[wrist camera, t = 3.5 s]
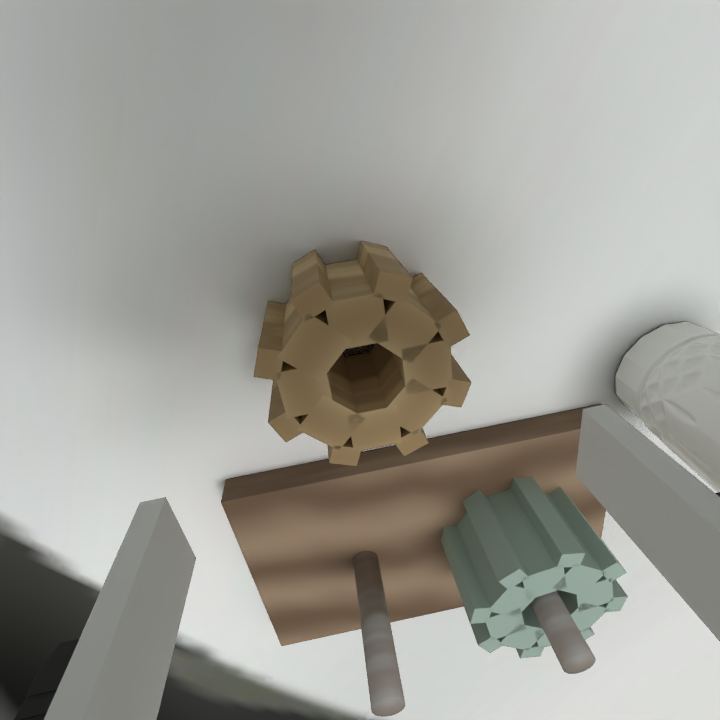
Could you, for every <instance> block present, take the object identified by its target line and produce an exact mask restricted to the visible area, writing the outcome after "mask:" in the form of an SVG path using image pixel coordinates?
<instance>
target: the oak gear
mask: <svg viewBox="0 0 720 720" xmlns="http://www.w3.org/2000/svg"><path fill="white" fill-rule="evenodd" d="M469 335H470V334H469V332H468V331H467V329H466V327H465V325H464V323H463V321H462V319H461V317H460V315H459V313H458V311H457V310H456V309H455V308H454V307H453V306H452V304H451V303H450V302H449V301H448V300H447V299H446V298H445V297H444V296H443V295H442V294H441V293H440V292H439V291H438V290H437V289H436V288H435V287H434V285H433V284H432V283H431V282H430V281H429V280H428V279H427V278H426V277H425V276H424V275H423V274H422V273H420V274H418V275H417V276H415V277H414V278H413V277H412V276H411V275H410V274H409V273H408V271H407V270H406V269H405V268H404V267H403V266H402V264H401V263H400V262H399V261H398V260H397V258H396V257H395V256H394V255H393V254H392V253H391V251H390V250H389V249H388V248H387V247H385V246H381V245H377V244H372V243H368V242H364V241H361V244H360V248H359V252H358V256H357V259H355V260H349V261H344V262H338V263H333V264H327V265H325V264H324V262H323V261H322V259H321V258H320V256H319V254H318V253H317V251H316V250H313V251H312V252H310V253H309V254H307V255H306V256H304V257H303V258H301V259H300V260H298V261H296V262H295V263H293V269H292V282H291V295H290V299H289V301H288V302H287V304H281V303H276V302H271V301H268V305H267V309H266V314H265V319H264V323H263V328H262V333H261V337H260V342H259V346H258V352H257V359H256V365H255V372H254V377H259V378H266V379H272V380H273V385H272V394H271V402H270V410H269V418H268V423H269V424H270V425H271V426H272V427H273V429H274V430H275V431H276V432H277V433H278V434H279V435H280V436H281V437H282V438H283V440H284V441H285V442H287V441H289V440H291V439H293V438H294V437H296V436H298V435H299V434H301V433H305V434H307V435H309V436H311V437H313V438H315V439H317V440H319V441H321V442H323V443H325V444H327V445H328V456H329V463H333V464H342V465H351V466H357V463H358V460H359V456H360V453H361V451H362V450H367V449H372V448H377V447H382V446H387V445H392V444H396V446H397V447H398V448H399V450H400V451H401V453H402V454H403V455H404V456H406V455H408V454H410V453H411V452H413V451H415V450H417V449H419V448H420V447H422V446H424V445H426V444H428V440H427V438H426V436H425V433H424V431H423V429H422V427H423V426H424V425H425V424H426V423H427V422H428V421H429V419H430V418H431V417H432V416H433V415H434V414H435V413H436V412H437V411H438V409H439V408H440V407H441V406H442V405H448V406H455V407H462V405H463V402H464V400H465V397H466V395H467V392H468V390H469V387H470V385H471V381H470V380H469V378H468V377H467V376H466V374H465V373H464V371H463V370H462V369H461V367H460V366H459V364H458V363H457V362H456V360H455V359H454V357H453V356H452V355H451V346H452V345H454V344H456V343H457V342H459V341H461V340H463V339H464V338H466V337H468V336H469ZM374 343H376V344H375V345H374V346H373V348H372V349H371V350H370V351H369V352H368V353H363V354H358V355H352V356H347V357H345V356H343V355H342V353H343V351H344V350H345V349H348V348H354V347H359V346H364V345H369V344H374Z"/></svg>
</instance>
